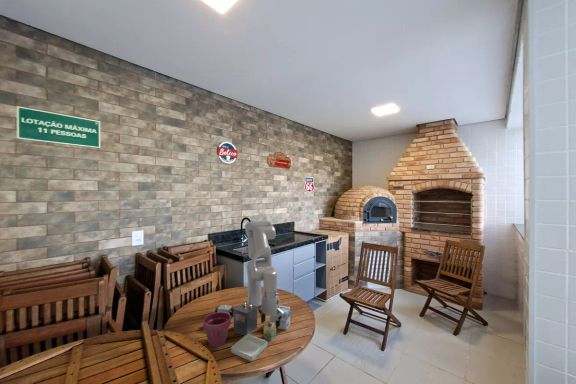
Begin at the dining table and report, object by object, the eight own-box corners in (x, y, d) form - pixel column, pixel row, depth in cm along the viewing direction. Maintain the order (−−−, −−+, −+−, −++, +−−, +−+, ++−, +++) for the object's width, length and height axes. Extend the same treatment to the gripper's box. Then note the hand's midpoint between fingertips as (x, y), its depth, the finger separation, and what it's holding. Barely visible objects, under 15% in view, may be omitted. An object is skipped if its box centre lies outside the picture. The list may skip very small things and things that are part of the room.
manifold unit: (244, 323, 149) (244, 300, 148) (257, 328, 144) (257, 304, 143) (233, 331, 141) (233, 306, 140) (246, 336, 136) (246, 310, 135)
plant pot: (215, 331, 141) (215, 309, 141) (236, 337, 136) (236, 314, 135) (197, 346, 128) (197, 321, 127) (219, 353, 122) (219, 327, 122)
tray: (248, 338, 135) (248, 333, 135) (267, 346, 128) (267, 341, 128) (230, 352, 123) (230, 347, 123) (251, 361, 116) (251, 356, 116)
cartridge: (268, 333, 139) (269, 319, 139) (276, 335, 137) (276, 321, 137) (263, 337, 135) (263, 323, 135) (271, 340, 132) (271, 326, 132)
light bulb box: (290, 324, 148) (290, 306, 148) (286, 330, 142) (286, 312, 142) (274, 321, 152) (274, 304, 152) (269, 327, 145) (269, 309, 145)
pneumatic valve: (232, 328, 144) (232, 308, 144) (214, 326, 146) (214, 306, 146) (236, 323, 149) (236, 303, 149) (218, 321, 152) (218, 302, 151)
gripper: (287, 294, 134) (287, 325, 134) (261, 288, 143) (261, 317, 143) (279, 299, 128) (280, 332, 128) (253, 292, 136) (253, 323, 136)
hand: (270, 324), depth 135 cm, fingers open, 9 cm apart
